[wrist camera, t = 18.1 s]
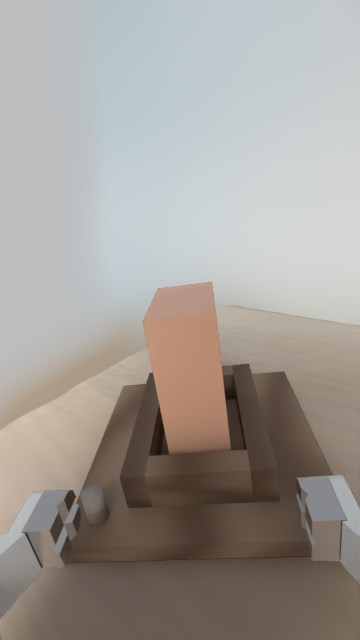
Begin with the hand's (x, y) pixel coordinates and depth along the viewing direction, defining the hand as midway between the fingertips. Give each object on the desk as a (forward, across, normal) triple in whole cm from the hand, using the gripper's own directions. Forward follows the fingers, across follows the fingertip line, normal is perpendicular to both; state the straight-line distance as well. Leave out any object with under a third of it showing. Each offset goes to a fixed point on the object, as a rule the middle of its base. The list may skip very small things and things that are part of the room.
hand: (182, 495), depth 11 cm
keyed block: (+11, 0, +7) cm, 13 cm away
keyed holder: (+11, 0, +8) cm, 14 cm away
